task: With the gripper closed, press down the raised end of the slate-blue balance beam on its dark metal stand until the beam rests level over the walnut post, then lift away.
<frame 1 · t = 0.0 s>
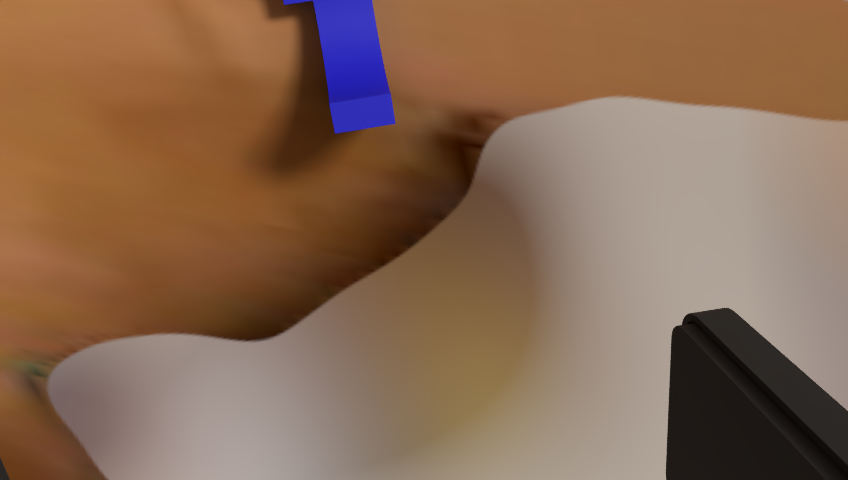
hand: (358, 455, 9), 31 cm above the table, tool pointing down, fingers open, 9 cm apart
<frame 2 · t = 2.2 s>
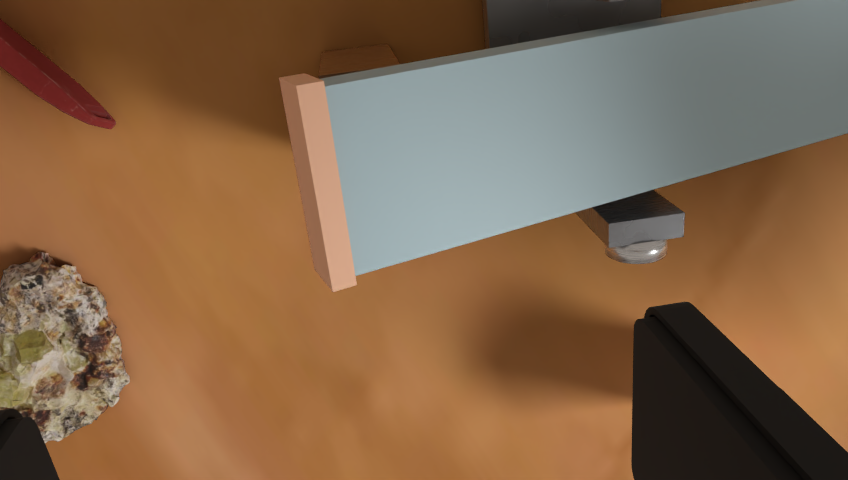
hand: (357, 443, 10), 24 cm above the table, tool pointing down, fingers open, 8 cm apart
beam stand: (569, 75, 33), on the table
mineral rock: (53, 340, 35), on the table
balance beam: (638, 109, 25), point 8 cm above the table, hinge at -18.0°
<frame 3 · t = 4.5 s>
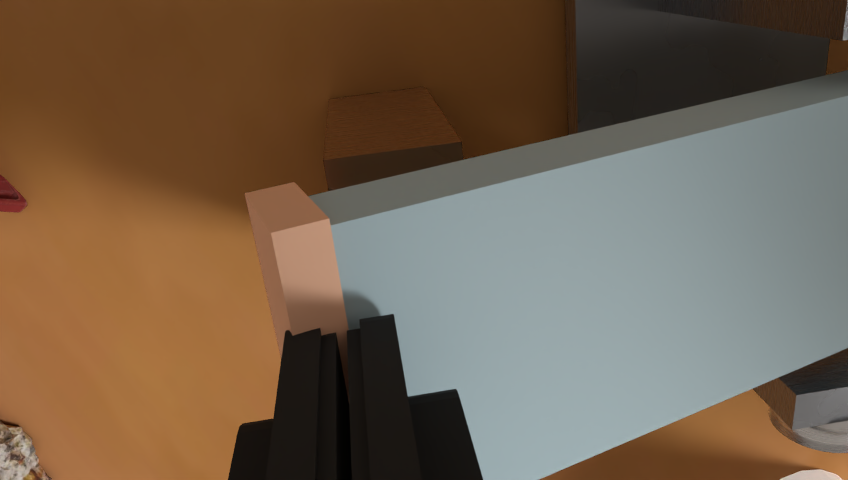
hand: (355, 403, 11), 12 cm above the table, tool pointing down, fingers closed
beam stand: (685, 129, 23), on the table
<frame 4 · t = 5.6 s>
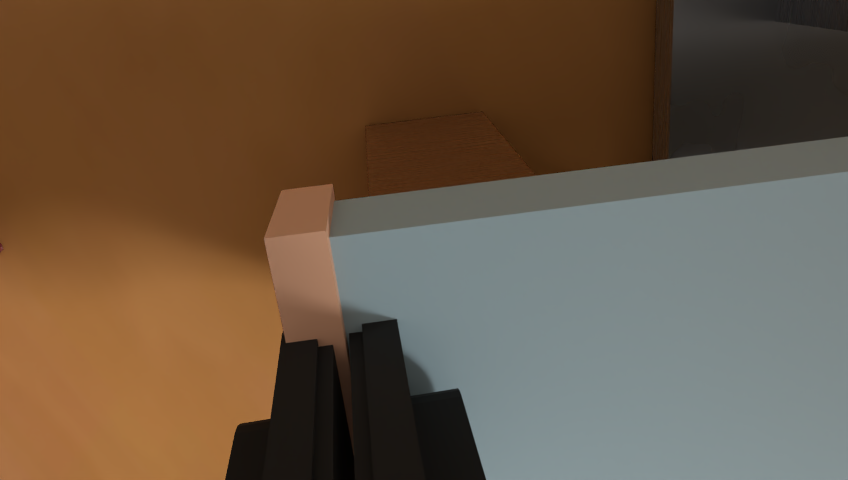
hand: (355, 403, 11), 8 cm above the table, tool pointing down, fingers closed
beam stand: (793, 163, 19), on the table
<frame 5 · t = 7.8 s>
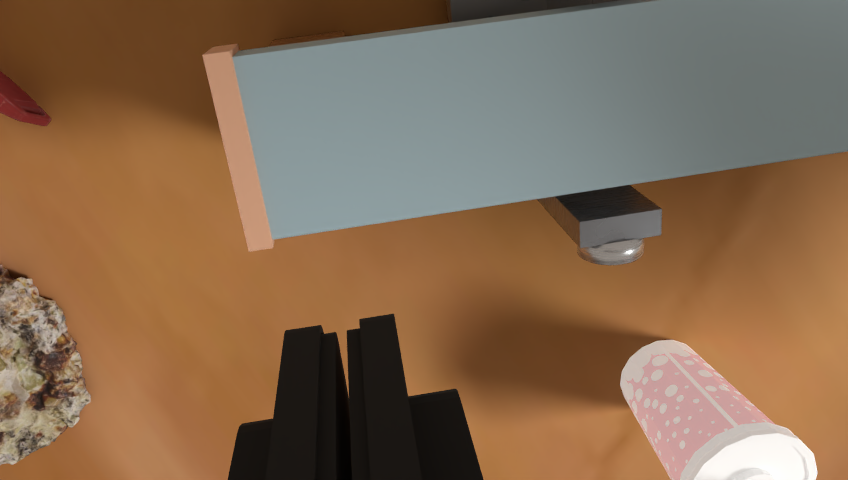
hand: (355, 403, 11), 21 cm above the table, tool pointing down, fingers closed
beverage cup: (657, 373, 38), on the table
beam stand: (540, 63, 30), on the table
mineral rock: (9, 356, 33), on the table
balance beam: (609, 96, 23), point 8 cm above the table, hinge at 0.3°
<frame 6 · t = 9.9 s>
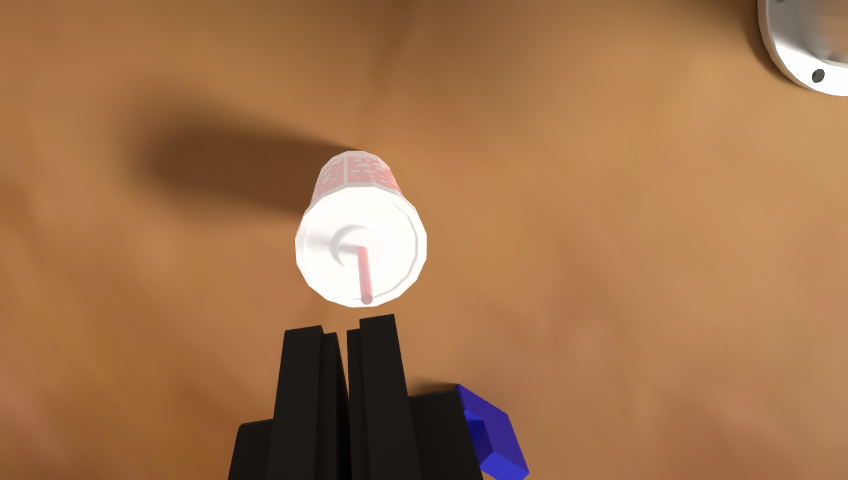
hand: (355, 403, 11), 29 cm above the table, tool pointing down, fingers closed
beverage cup: (355, 187, 40), on the table
cable clip: (427, 455, 48), on the table
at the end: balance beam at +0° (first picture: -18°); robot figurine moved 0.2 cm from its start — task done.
